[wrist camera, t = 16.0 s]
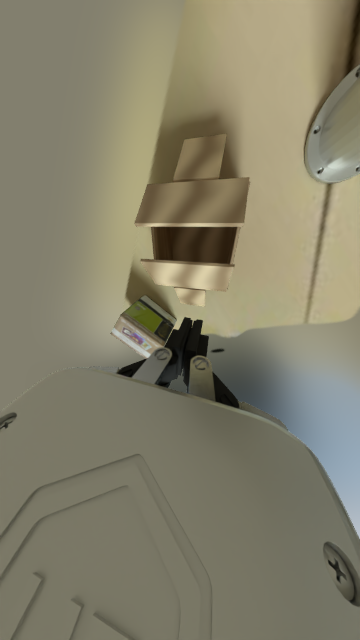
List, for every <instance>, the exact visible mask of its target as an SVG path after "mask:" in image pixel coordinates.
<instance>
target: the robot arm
mask: <svg viewBox="0 0 360 640" xmlns="http://www.w3.org/2000/svg"><path fill="white" fill-rule="evenodd" d="M355 75H357V77H356V76H355ZM314 131H316V134H314ZM304 157H305V166H306V168H307V171H308V173H309V174H310V176H311V177H312V178H313V179H315V180H316V181H318V182H321V183H329V184H331V183H338V182H341V181H344V180H347V179H349V178H352V177H354V176H356V175H358V174H360V64H359V65H358V66H356V67H355V68H354V69H353V70H352V71H351V72H350V73H349V74H348V75H347V76H346V77H345V78H344V79H343V80H342V81H341V82H340V83H339V84H338V86H337V87H336V88H335V89H334V90H333V92H332V93H331V94H330V96H329V97H328V98H327V100H326V101H325V103H324V104H323V106H322V107H321V109H320V111H319V112H318V114H317V116H316V118H315V120H314V122H313V124H312V126H311V129H310V132H309V134H308V137H307V142H306V146H305V156H304ZM356 168H357V170H356ZM317 171H319V174H317ZM192 321H193V320H191V318H186V317H184V320H183V322H182V324H181V326H180V328H179V330H175V329H173V331H172V333H171V335H170V337H169V339H168V341H167V343H166V345H165V346H164V347H161V348H157V349H155V350H154V351H153V353H152V354H151V355H150V356H149V357H148V358H147V359H144V360H142V361H139V362H136V363H133V364H131V365H128V366H126V367H123V368H122V369H119V368H118V367H95V366H93V367H89V368H85V367H84V368H83V367H76V368H67V369H62V370H58V371H56V372H53V373H52V374H50V375H48V376H46V377H45V378H43V379H42V380H41V381H39V382H38V383H36V384H35V385H33V386H32V387H31V388H30V389H28V390H27V391H25V392H24V393H23V394H22V395H20V396H19V397H18V398H16V399H15V400H14V401H13V402H11V403H10V404H9V405H8V406H6V407H5V408H4V409H3V410H1V411H0V640H360V539H359V537H358V535H357V532H356V530H355V528H354V526H353V524H352V522H351V520H350V518H349V515H348V513H347V511H346V509H345V507H344V505H343V503H342V501H341V499H340V497H339V495H338V493H337V491H336V489H335V487H334V486H333V483H332V482H331V480H330V478H329V476H328V474H327V472H326V471H325V469H324V467H323V466H322V464H321V463H320V462H319V460H318V458H317V457H316V456H315V454H314V453H313V452H312V451H311V450H310V449H309V448H308V447H307V446H306V445H305V444H304V443H303V442H302V441H301V440H300V439H298V438H297V437H296V436H294V435H293V434H292V433H290V432H289V431H288V429H287V428H286V426H285V425H284V424H283V423H282V422H281V421H280V420H279V419H277V418H275V417H273V416H271V415H269V414H267V413H265V412H263V411H261V410H259V409H257V408H255V407H253V406H251V405H249V404H247V403H245V402H242V403H241V402H239V401H238V400H237V399H236V398H235V396H234V395H233V394H232V393H231V392H230V391H229V389H228V388H227V387H226V386H225V385H224V384H223V383H222V382H221V380H220V379H219V378H218V377H217V376H216V375H215V374H214V373H213V372H212V366H211V362H210V361H209V359H207V358H206V355H207V346H208V339H209V337H208V336H206V335H201V328H202V323H203V320H198V319H197V321H194V323H193V326H192ZM182 369H183V376H184V380H183V381H184V383H185V384H186V386H187V393H183V392H179V391H176V390H172V389H169V386H170V384H171V381H172V380H174V379H177V377H178V375H181V372H182Z"/></svg>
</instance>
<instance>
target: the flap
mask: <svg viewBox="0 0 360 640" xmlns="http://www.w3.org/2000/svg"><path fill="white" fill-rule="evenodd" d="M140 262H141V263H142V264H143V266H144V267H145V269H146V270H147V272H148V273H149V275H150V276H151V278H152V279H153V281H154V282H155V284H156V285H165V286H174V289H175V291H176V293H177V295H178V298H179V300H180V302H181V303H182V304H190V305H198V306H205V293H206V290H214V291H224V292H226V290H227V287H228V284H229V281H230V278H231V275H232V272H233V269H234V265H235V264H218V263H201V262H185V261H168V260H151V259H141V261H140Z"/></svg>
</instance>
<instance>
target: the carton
mask: <svg viewBox="0 0 360 640" xmlns="http://www.w3.org/2000/svg"><path fill="white" fill-rule="evenodd" d="M249 185H250V182H249ZM249 185H248V190H249ZM247 195H248V194H247ZM240 228H241V227H151V230H152V242H153V254H154V260H168V261H185V262H201V263H218V264H233V262H234V257H235V252H236V247H237V243H238V238H239V233H240ZM228 285H229V284H228ZM227 289H228V287H227Z"/></svg>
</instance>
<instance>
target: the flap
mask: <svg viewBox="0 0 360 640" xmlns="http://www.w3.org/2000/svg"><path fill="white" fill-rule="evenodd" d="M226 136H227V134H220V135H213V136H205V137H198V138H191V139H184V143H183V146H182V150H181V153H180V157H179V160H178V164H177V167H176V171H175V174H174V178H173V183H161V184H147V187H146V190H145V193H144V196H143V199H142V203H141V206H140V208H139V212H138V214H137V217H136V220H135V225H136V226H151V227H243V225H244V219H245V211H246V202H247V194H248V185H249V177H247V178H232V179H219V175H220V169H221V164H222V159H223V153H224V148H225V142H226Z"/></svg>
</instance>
